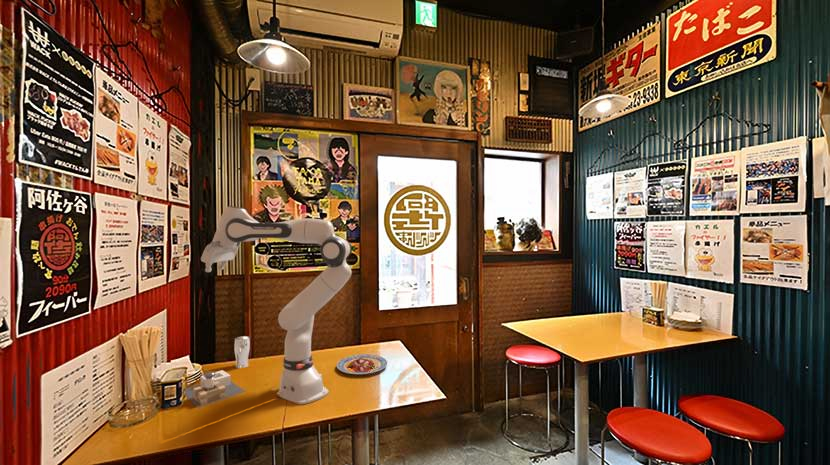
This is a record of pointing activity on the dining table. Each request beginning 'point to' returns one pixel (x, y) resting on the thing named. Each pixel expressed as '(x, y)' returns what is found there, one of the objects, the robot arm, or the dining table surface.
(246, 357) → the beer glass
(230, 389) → the rubber mat
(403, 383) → the dining table surface
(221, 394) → the mount block
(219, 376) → the socket block
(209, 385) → the steel pin
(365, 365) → the ceramic plate
